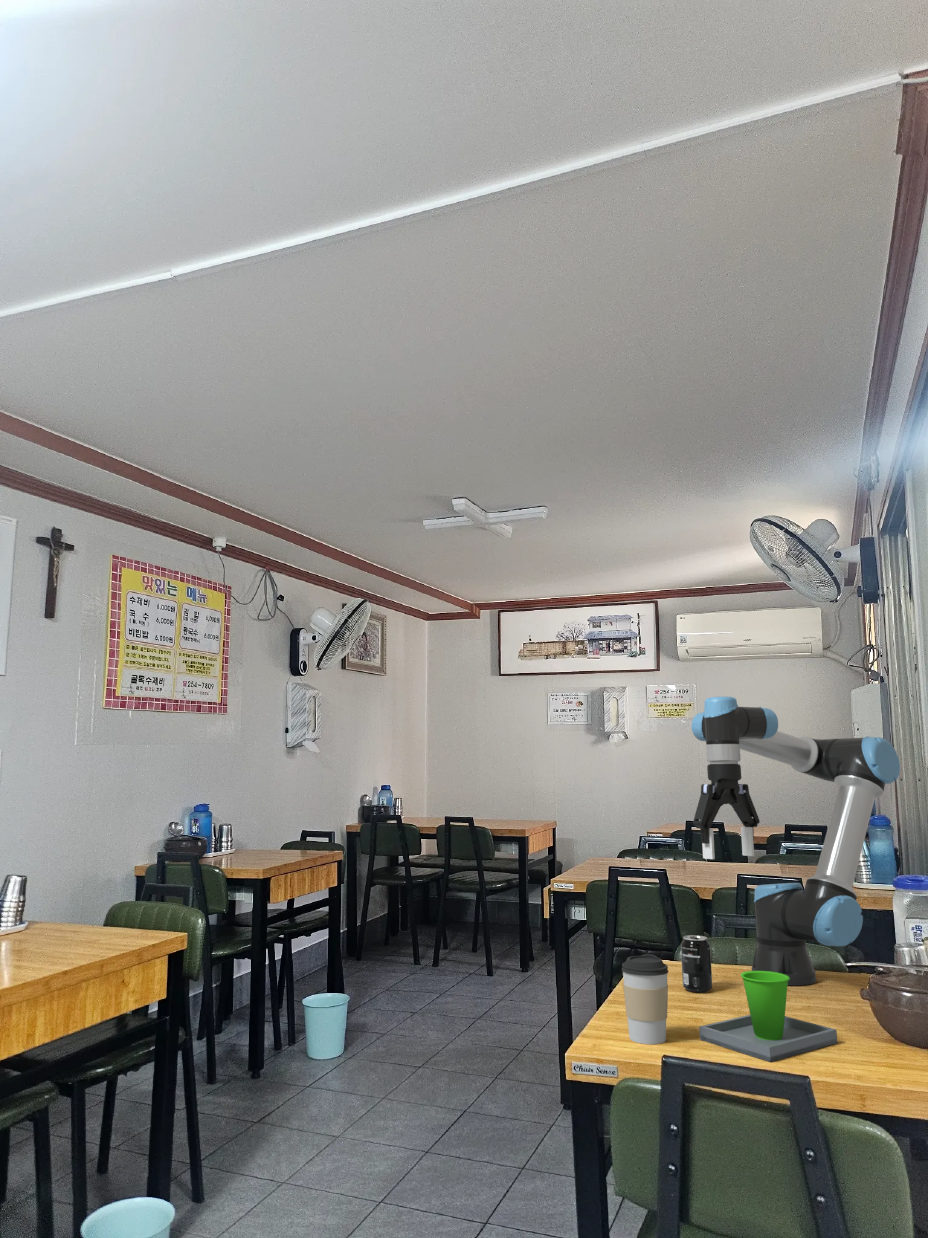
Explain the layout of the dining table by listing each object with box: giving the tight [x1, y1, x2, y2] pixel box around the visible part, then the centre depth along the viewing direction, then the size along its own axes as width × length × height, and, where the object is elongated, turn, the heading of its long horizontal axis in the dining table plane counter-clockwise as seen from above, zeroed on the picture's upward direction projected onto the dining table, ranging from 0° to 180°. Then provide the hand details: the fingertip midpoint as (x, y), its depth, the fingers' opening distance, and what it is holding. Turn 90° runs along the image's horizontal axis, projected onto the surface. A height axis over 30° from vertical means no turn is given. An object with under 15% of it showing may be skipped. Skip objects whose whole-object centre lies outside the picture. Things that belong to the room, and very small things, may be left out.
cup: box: [740, 970, 790, 1040], centre depth 165 cm, size 9×9×11 cm
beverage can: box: [680, 934, 713, 994], centre depth 204 cm, size 7×7×12 cm
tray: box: [698, 1014, 838, 1063], centre depth 164 cm, size 20×16×2 cm
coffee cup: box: [621, 953, 670, 1045], centre depth 166 cm, size 9×9×15 cm
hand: (729, 857), depth 196 cm, fingers open, 13 cm apart
